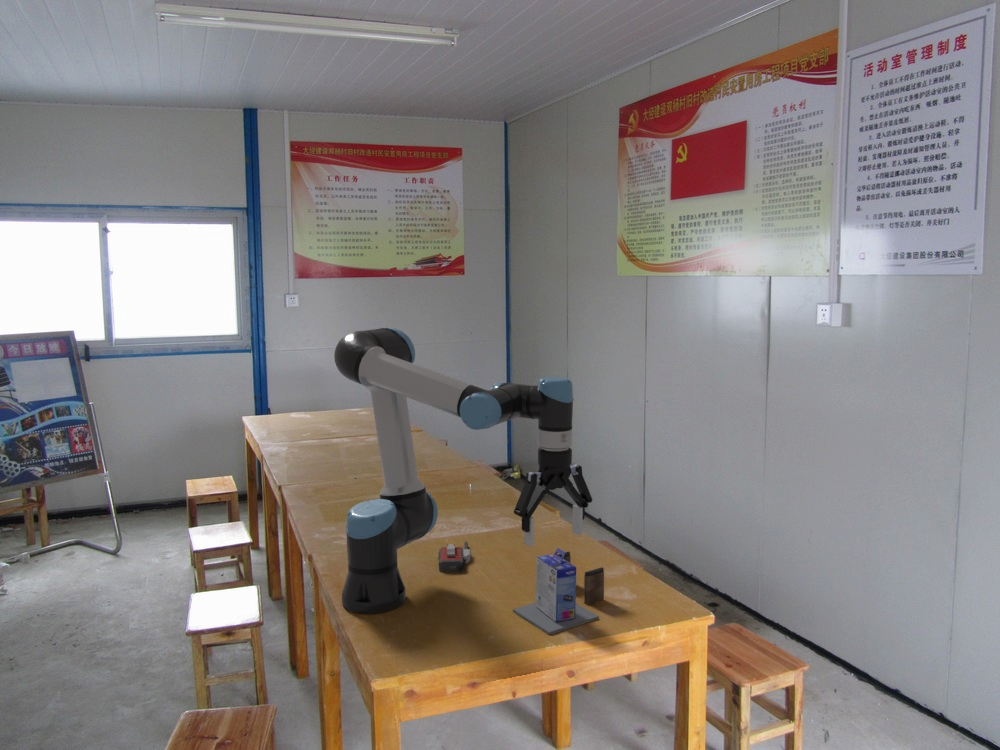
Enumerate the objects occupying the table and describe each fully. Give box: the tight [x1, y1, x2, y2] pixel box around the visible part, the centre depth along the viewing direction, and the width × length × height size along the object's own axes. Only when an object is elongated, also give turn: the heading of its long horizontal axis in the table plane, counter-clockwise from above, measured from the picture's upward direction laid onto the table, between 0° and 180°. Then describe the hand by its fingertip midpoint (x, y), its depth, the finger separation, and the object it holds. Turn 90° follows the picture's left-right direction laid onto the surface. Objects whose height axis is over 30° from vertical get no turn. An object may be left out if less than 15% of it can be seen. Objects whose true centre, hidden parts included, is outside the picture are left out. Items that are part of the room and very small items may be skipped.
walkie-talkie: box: [438, 541, 472, 573], centre depth 210 cm, size 9×4×20 cm
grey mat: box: [512, 601, 600, 636], centre depth 175 cm, size 14×14×1 cm
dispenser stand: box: [557, 551, 605, 606], centre depth 187 cm, size 5×14×8 cm, turn 33°
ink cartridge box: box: [535, 547, 577, 622], centre depth 174 cm, size 10×6×14 cm, turn 26°
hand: (553, 539), depth 173 cm, fingers open, 13 cm apart
